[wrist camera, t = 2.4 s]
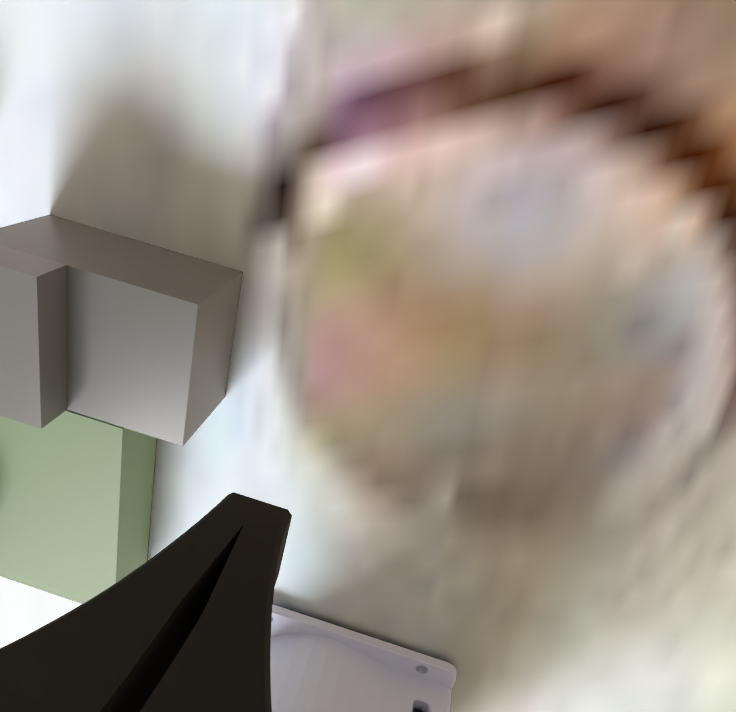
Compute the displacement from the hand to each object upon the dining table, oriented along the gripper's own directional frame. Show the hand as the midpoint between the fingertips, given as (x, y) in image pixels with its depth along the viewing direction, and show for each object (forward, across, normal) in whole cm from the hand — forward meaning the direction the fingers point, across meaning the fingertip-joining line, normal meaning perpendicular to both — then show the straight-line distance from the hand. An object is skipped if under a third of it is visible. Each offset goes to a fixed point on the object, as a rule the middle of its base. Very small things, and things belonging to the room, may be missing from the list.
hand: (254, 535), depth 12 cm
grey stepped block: (+9, +8, 0) cm, 11 cm away
